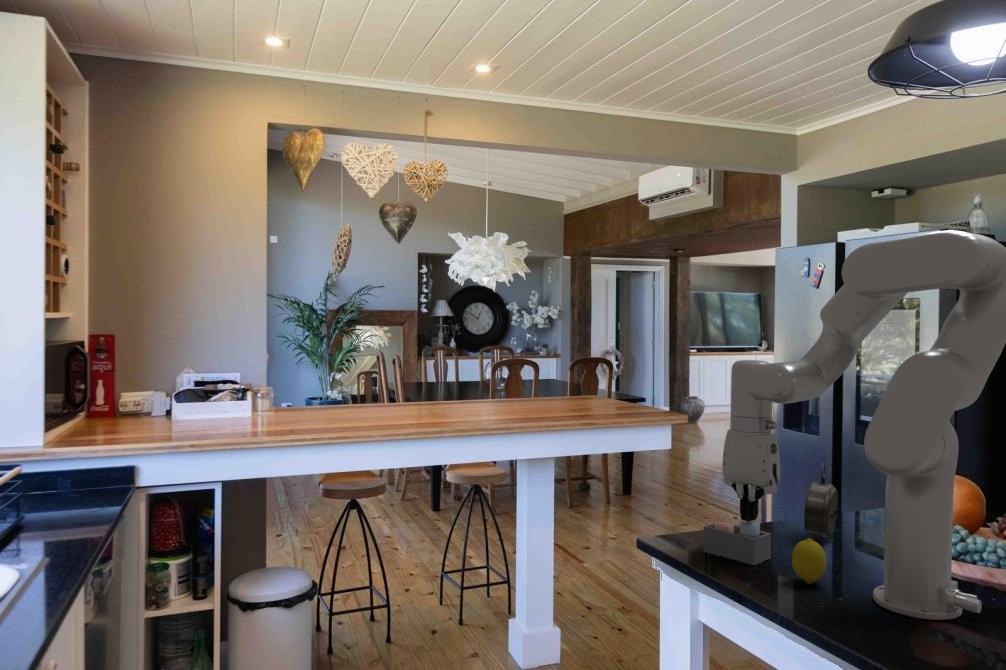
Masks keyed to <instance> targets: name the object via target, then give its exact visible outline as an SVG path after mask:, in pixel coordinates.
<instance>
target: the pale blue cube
mask: <svg viewBox="0 0 1006 670" xmlns="http://www.w3.org/2000/svg"><path fill="white" fill-rule="evenodd" d="M739 526H740V535H744V536H748V537H752V538H756V537H759V536H760V531H761V523H760V522H759V521H756V520H753V521H750V522H748V521H746V520H744V521H743V520H740V522H739Z"/></svg>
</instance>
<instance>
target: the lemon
mask: <svg viewBox="0 0 1006 670" xmlns="http://www.w3.org/2000/svg"><path fill="white" fill-rule="evenodd" d="M791 557H792V558H791V565H792V569H793V571H794V573H795V574H796V576H797V577H798V578H800V579H801V580H804V582H805V583H806V584H808V585H811V584H812V583H813V582H816V581H819V580H820V579H821V578H822V577H823V576H824V574H825V572H826V569H827V556H826V552H825V551H824V548H823V547H822V546H821V545H820V544H819V543H818V542H816V540H814V541H813V540H812V539H811V537H810V538H809V537H808V538H806V539H804V540H801V541H799V542H798V543H797V544H795V546H794V548H793V552H792V555H791Z"/></svg>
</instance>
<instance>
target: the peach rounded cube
mask: <svg viewBox="0 0 1006 670" xmlns="http://www.w3.org/2000/svg"><path fill="white" fill-rule="evenodd" d="M733 524H734V523H732V522H727V521H722V522H720V521H716V522H715V528H716V529H720V530H724V531H728V532H732V533H734V525H735V524H734V525H733Z"/></svg>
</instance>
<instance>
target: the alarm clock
mask: <svg viewBox="0 0 1006 670" xmlns="http://www.w3.org/2000/svg"><path fill="white" fill-rule="evenodd" d="M820 473H821V474H820V475H821V477H820V482H817V481H813V482H812V483H811V484H810V486H809V488H808V490H807V493H806V499H805V504H804V513H803V515H804V516H803V526H804V531H805V533H806V534H807V535H810V536H811V537H810V539H812V540H813V541H815V539H816V537H820V538H824V539H827V538H829V539H830V541H831V542H832V543H834V539H833V537H832V535H833V532H834V530H835V528H836V524H837V518H838V514H839V511H840V508H839V493H838V490H837V488H836V487H835V486H834V485H833V484H827V483H826V478H827V477H826V464H825V463H823V462H822V463H821V471H820Z"/></svg>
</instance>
